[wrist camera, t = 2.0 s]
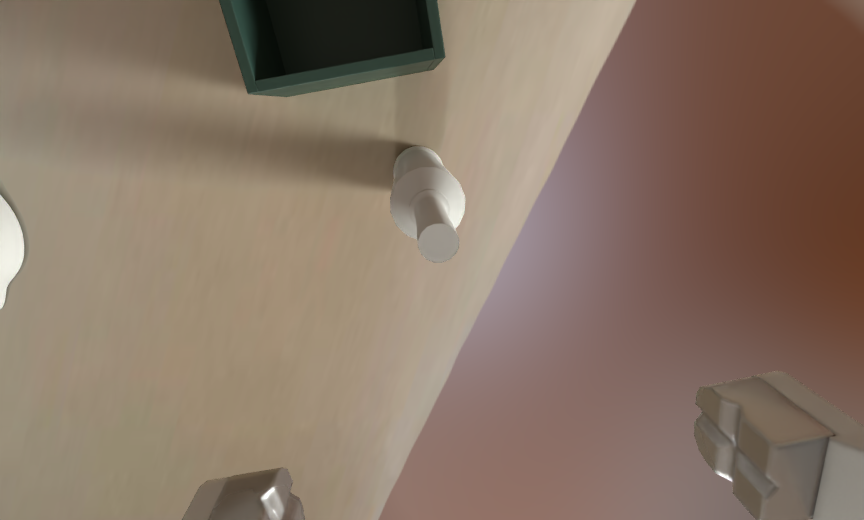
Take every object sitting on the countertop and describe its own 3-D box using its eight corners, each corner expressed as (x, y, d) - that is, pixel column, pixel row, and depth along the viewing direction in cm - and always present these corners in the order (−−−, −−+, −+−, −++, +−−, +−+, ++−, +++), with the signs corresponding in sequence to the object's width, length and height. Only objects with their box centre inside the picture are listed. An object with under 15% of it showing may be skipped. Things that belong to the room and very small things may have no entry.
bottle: (398, 139, 43) (396, 181, 19) (447, 150, 44) (502, 202, 20) (389, 189, 44) (377, 282, 21) (436, 198, 45) (476, 299, 22)
